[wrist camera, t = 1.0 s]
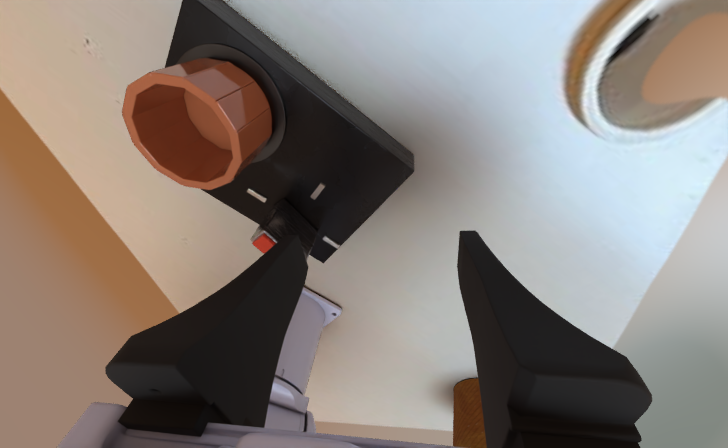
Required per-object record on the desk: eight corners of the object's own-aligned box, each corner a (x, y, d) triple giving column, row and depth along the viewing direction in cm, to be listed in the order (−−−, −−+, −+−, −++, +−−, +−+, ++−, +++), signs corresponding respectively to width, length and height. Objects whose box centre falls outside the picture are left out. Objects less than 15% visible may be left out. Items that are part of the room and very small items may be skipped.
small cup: (252, 170, 20) (218, 207, 16) (172, 117, 18) (114, 145, 15) (290, 102, 17) (258, 130, 13) (198, 33, 15) (134, 43, 12)
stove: (321, 252, 27) (314, 273, 25) (160, 153, 23) (135, 169, 21) (414, 154, 21) (414, 172, 19) (211, -9, 17) (182, -10, 14)
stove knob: (319, 231, 23) (303, 269, 19) (306, 239, 23) (289, 277, 20) (284, 197, 21) (261, 233, 18) (271, 206, 22) (247, 242, 19)
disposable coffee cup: (493, 362, 34) (524, 501, 25) (533, 397, 38) (574, 531, 28) (426, 383, 39) (430, 506, 30) (467, 412, 42) (483, 531, 33)
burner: (258, 180, 21) (257, 182, 20) (161, 117, 19) (159, 119, 19) (307, 99, 17) (306, 100, 17) (192, 11, 15) (190, 11, 15)
